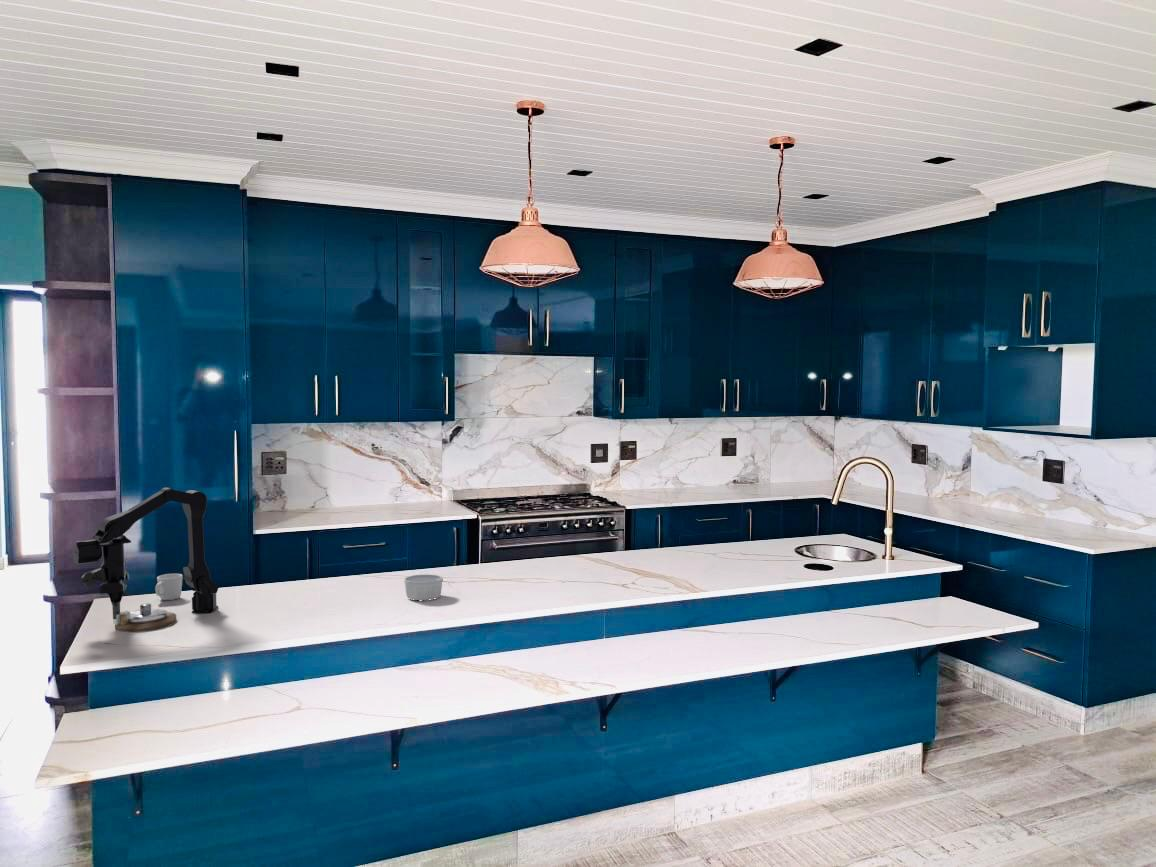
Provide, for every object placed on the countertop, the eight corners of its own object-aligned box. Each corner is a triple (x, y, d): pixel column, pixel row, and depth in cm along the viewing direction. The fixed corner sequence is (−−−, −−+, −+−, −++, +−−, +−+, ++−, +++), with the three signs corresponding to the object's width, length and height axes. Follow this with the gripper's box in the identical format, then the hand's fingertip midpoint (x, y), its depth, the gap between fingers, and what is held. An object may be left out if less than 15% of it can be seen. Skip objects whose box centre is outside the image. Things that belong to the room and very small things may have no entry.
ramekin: (437, 591, 301) (437, 572, 301) (447, 600, 289) (447, 580, 289) (400, 595, 295) (400, 576, 295) (409, 604, 283) (409, 584, 283)
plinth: (184, 615, 270) (184, 601, 270) (163, 630, 253) (163, 615, 253) (129, 616, 269) (129, 603, 268) (104, 632, 252) (104, 617, 251)
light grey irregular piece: (157, 610, 269) (156, 590, 269) (174, 617, 262) (173, 595, 261) (105, 621, 257) (104, 599, 257) (121, 628, 250) (120, 605, 249)
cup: (167, 604, 284) (166, 580, 284) (146, 603, 286) (145, 579, 285) (188, 596, 295) (187, 574, 294) (168, 595, 296) (167, 573, 296)
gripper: (87, 555, 261) (89, 605, 262) (78, 567, 244) (81, 620, 245) (128, 552, 265) (130, 601, 266) (121, 564, 248) (124, 616, 249)
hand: (115, 609), depth 257 cm, fingers closed
